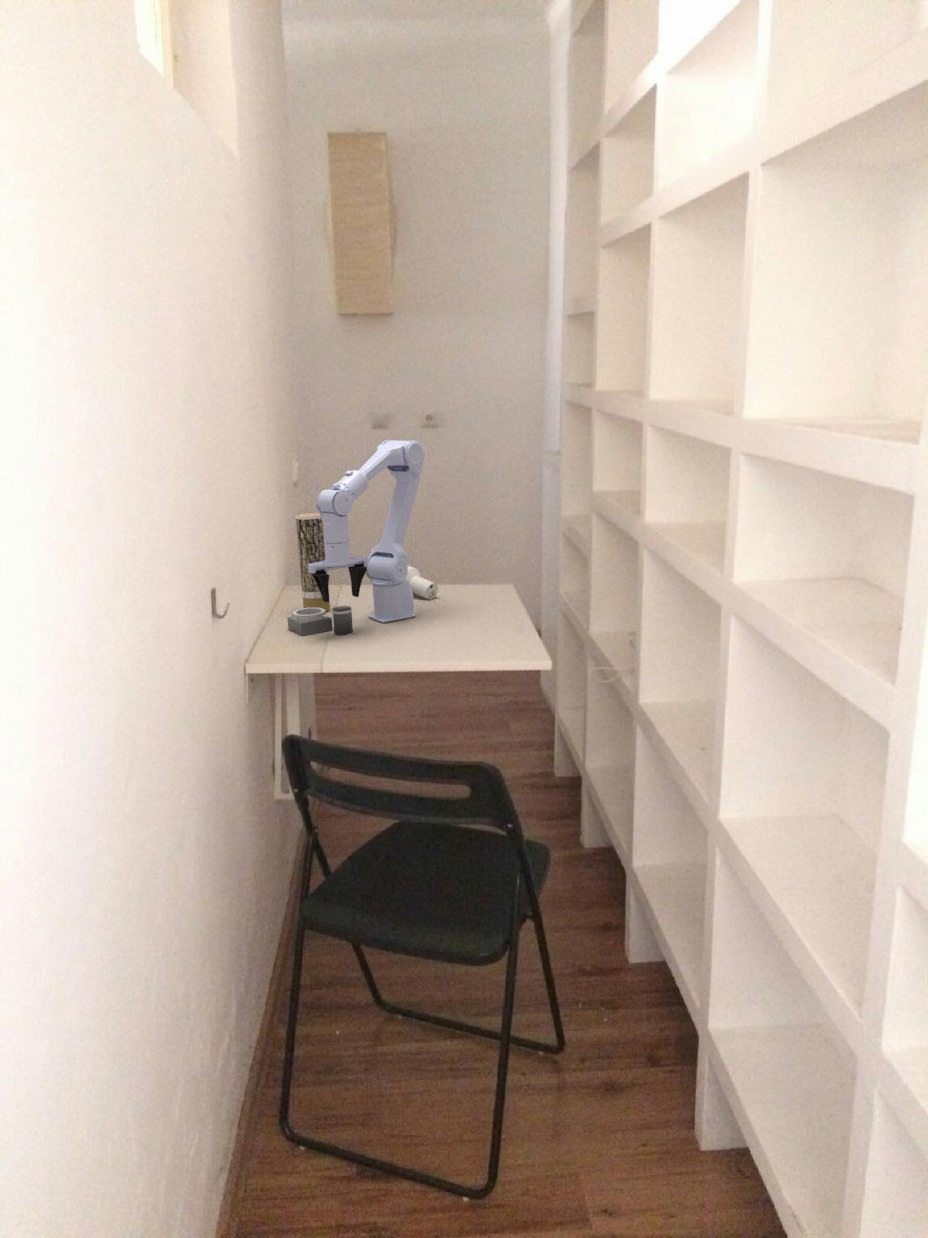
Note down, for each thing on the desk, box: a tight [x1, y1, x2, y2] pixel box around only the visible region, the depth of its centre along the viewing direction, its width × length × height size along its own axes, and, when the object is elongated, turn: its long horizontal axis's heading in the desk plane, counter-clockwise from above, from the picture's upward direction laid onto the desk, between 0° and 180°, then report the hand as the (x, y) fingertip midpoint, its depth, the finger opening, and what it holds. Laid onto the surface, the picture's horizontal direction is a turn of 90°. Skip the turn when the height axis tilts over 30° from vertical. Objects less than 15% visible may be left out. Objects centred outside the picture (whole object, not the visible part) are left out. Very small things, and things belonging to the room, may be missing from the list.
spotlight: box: [405, 565, 439, 600], centre depth 261 cm, size 8×11×8 cm
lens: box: [331, 605, 354, 636], centre depth 229 cm, size 4×4×6 cm
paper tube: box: [295, 512, 331, 612], centre depth 248 cm, size 7×7×25 cm
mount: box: [286, 607, 334, 637], centre depth 233 cm, size 8×8×4 cm
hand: (340, 598), depth 227 cm, fingers open, 7 cm apart
